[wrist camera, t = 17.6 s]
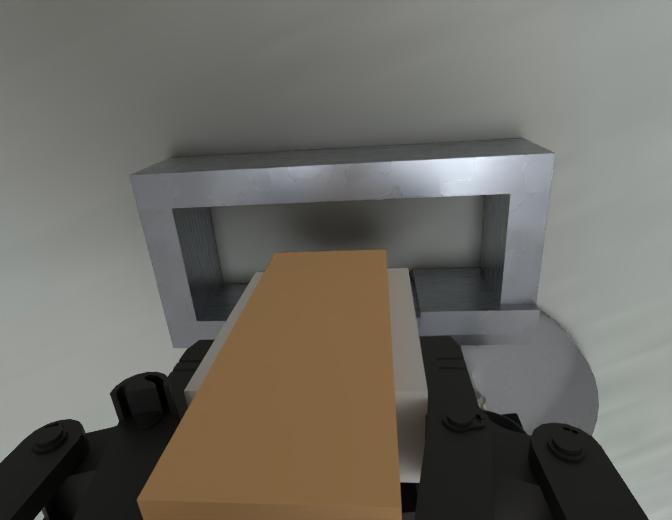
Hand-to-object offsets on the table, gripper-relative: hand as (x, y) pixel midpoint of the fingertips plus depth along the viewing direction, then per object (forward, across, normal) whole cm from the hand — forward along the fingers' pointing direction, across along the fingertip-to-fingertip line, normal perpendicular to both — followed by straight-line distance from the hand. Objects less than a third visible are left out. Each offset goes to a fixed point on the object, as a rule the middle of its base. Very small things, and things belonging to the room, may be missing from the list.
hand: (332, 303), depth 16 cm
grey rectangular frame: (+7, 0, 0) cm, 7 cm away
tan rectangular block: (0, 0, 0) cm, 0 cm away
